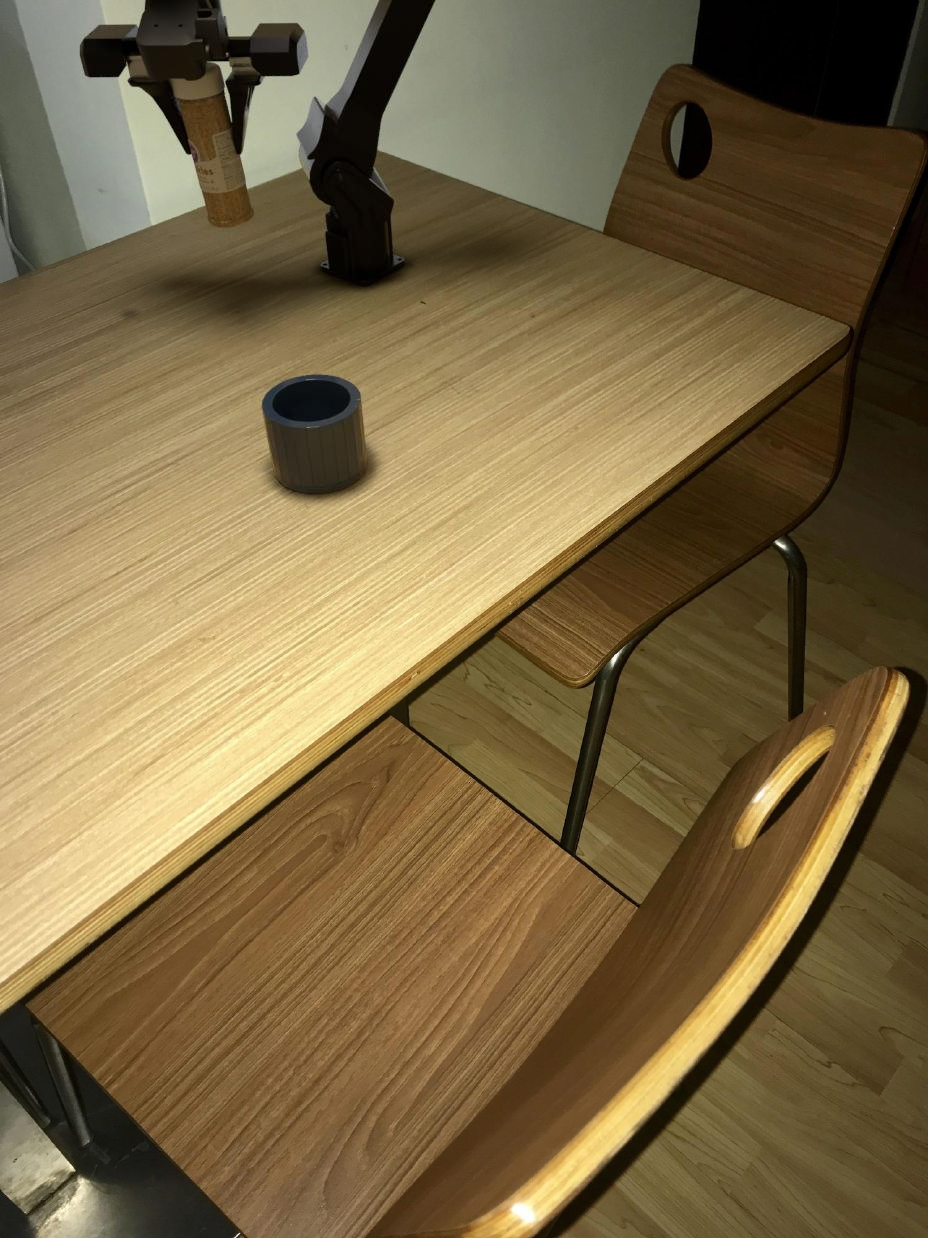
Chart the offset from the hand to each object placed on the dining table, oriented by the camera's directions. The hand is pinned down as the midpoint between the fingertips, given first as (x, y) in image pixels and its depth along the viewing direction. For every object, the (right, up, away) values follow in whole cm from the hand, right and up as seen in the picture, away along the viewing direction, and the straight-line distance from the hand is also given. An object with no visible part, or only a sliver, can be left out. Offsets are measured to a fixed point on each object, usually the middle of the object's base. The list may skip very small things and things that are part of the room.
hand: (214, 152), depth 92 cm
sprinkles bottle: (+1, -5, +4) cm, 6 cm away
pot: (+12, -31, -14) cm, 36 cm away
